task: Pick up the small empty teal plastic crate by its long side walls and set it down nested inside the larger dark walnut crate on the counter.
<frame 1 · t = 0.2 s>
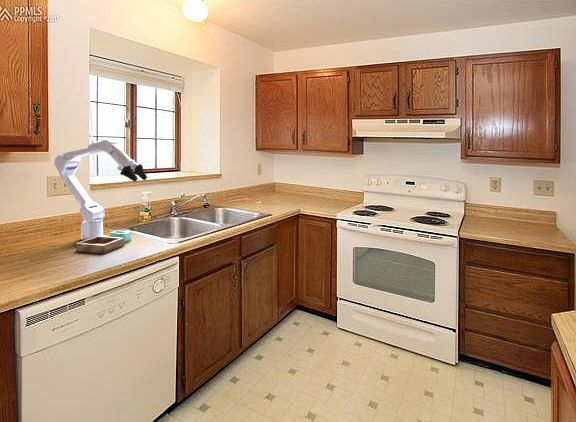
hand: (141, 179, 181), 30 cm above the worktop, tool tilted 45°, fingers open, 7 cm apart
walnut crate: (101, 248, 175), on the worktop
teal crate: (120, 240, 188), on the worktop
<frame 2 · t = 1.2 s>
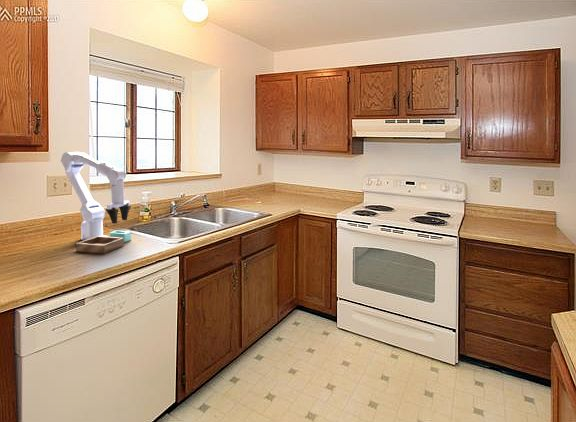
hand: (119, 221, 186), 9 cm above the worktop, tool pointing down, fingers open, 7 cm apart
nothing on the worktop moved.
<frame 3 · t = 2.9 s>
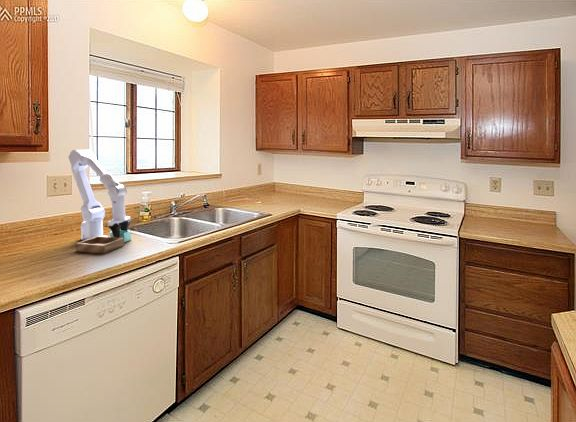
hand: (120, 237, 188), 2 cm above the worktop, tool pointing down, fingers closed on teal crate, 5 cm apart
teal crate: (120, 240, 188), on the worktop, touching gripper
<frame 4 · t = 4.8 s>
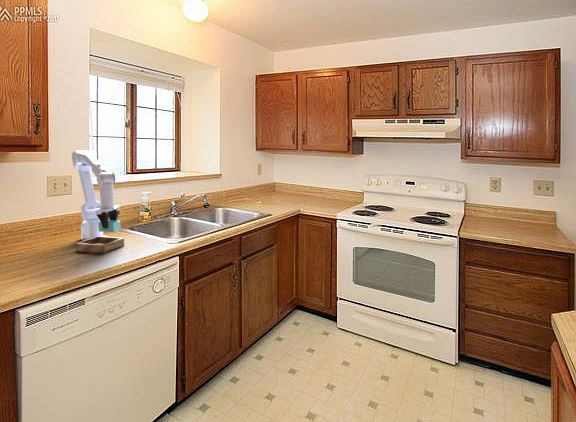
hand: (109, 227, 179), 8 cm above the worktop, tool pointing down, fingers closed on teal crate, 5 cm apart
teal crate: (109, 230, 180), point 7 cm above the worktop, touching gripper
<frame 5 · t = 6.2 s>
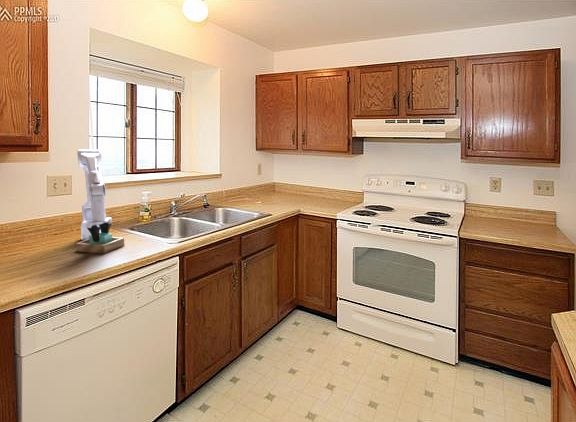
hand: (100, 240, 174), 4 cm above the worktop, tool pointing down, fingers closed on teal crate, 5 cm apart
teal crate: (101, 243, 174), point 2 cm above the worktop, touching gripper
when the fingers open (4 cm above the worktop, at t = 7.0 s): teal crate drops 1 cm, resting on walnut crate.
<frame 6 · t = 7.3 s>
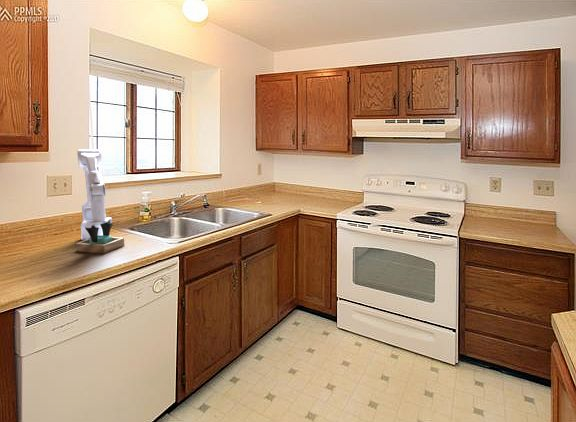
hand: (100, 240, 174), 4 cm above the worktop, tool pointing down, fingers open, 7 cm apart
teal crate: (101, 246, 174), point 1 cm above the worktop, touching walnut crate
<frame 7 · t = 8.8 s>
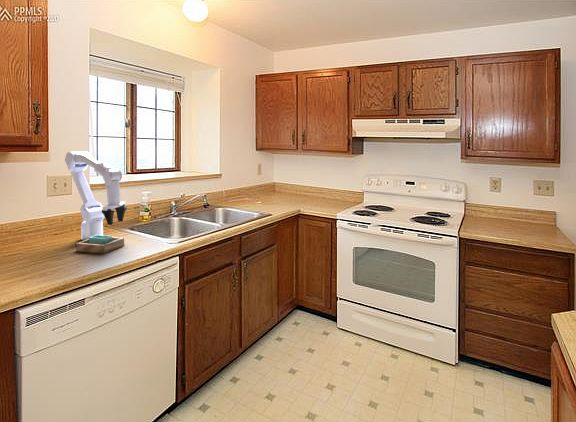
hand: (115, 223, 184), 9 cm above the worktop, tool pointing down, fingers open, 7 cm apart
nothing on the worktop moved.
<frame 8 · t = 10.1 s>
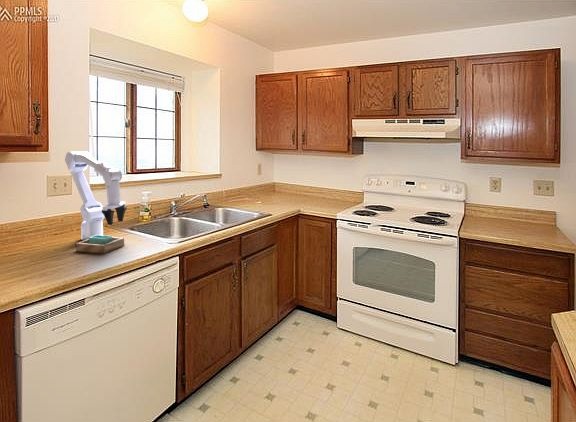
hand: (115, 223, 184), 9 cm above the worktop, tool pointing down, fingers open, 7 cm apart
nothing on the worktop moved.
at the end: teal crate inside the target area on the walnut crate (0.1 cm from its centre), point 0.8 cm above the walnut crate's base; teal crate tilted 0°; the gripper is holding nothing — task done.
